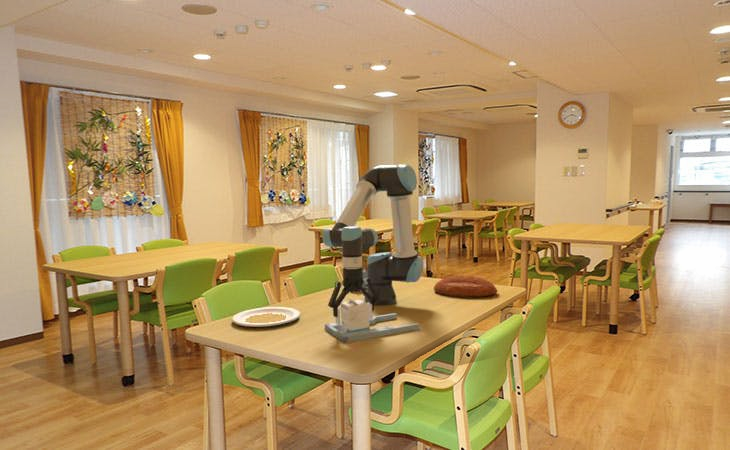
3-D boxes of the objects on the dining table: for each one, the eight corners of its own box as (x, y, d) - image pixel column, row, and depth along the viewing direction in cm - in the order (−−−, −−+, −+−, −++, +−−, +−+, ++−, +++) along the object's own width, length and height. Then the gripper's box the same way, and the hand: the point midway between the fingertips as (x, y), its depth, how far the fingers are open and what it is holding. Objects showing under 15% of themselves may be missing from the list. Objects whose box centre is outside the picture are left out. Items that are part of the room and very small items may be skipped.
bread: (493, 300, 237) (493, 282, 236) (428, 296, 249) (427, 278, 249) (500, 290, 258) (500, 273, 257) (439, 287, 270) (439, 270, 269)
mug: (368, 292, 261) (367, 273, 260) (346, 292, 261) (346, 273, 260) (368, 286, 276) (367, 268, 275) (348, 286, 276) (347, 268, 275)
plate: (275, 308, 234) (275, 303, 234) (313, 319, 214) (313, 314, 214) (220, 321, 214) (220, 316, 214) (256, 334, 194) (256, 328, 194)
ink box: (370, 334, 191) (369, 299, 189) (350, 337, 187) (349, 302, 186) (360, 328, 198) (359, 294, 197) (341, 331, 195) (339, 297, 193)
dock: (324, 329, 198) (324, 324, 198) (394, 317, 212) (394, 313, 212) (344, 342, 181) (344, 337, 181) (419, 329, 195) (419, 324, 194)
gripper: (325, 272, 182) (327, 329, 184) (386, 265, 193) (387, 319, 195) (318, 269, 189) (320, 324, 191) (377, 262, 200) (378, 315, 202)
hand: (354, 322), depth 193 cm, fingers open, 13 cm apart
